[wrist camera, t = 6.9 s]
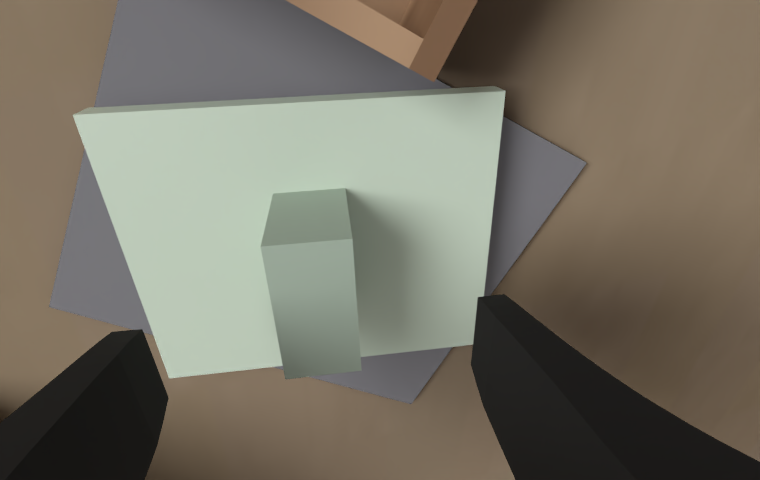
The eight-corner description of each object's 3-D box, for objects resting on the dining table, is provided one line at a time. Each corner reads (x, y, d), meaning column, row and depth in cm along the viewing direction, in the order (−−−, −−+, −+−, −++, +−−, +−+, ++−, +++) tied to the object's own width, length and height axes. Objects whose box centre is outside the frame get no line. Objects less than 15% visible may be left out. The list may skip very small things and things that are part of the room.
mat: (582, 159, 15) (586, 163, 14) (409, 398, 19) (411, 404, 19) (142, -85, 10) (137, -87, 10) (53, 301, 15) (49, 306, 14)
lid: (487, 82, 13) (560, 117, 9) (467, 319, 17) (510, 411, 13) (98, 103, 12) (-10, 152, 8) (180, 349, 16) (136, 459, 12)
